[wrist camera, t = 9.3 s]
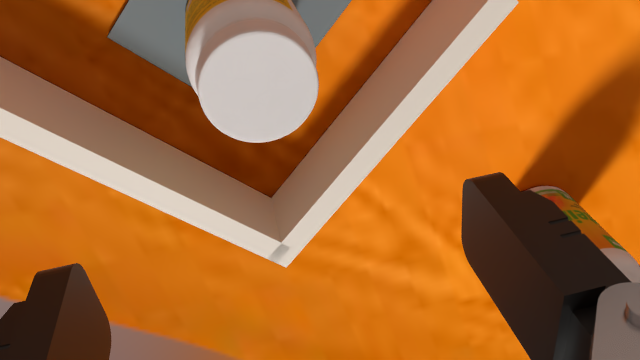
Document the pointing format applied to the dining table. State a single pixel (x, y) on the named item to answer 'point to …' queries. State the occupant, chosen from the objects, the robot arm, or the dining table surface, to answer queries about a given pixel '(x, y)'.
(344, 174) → the corner arena
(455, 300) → the dining table surface
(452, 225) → the dining table surface
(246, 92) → the supplement bottle
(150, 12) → the pad
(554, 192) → the supplement bottle
